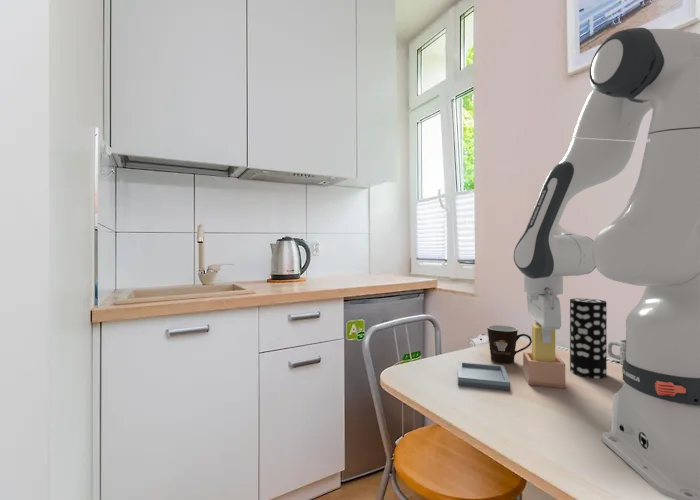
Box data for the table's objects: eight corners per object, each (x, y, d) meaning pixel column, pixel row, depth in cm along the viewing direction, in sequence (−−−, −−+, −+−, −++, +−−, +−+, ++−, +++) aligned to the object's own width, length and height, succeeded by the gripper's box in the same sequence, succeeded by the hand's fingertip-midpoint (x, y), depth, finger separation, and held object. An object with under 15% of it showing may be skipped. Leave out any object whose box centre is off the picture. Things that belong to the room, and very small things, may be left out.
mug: (652, 366, 102) (652, 343, 102) (643, 370, 99) (643, 346, 99) (612, 357, 111) (612, 336, 111) (602, 361, 107) (602, 339, 107)
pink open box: (565, 388, 86) (565, 364, 86) (528, 384, 88) (528, 360, 88) (556, 377, 93) (556, 354, 93) (523, 373, 96) (523, 351, 96)
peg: (555, 380, 88) (555, 328, 88) (535, 378, 89) (535, 327, 89) (551, 374, 92) (550, 325, 92) (532, 372, 94) (531, 324, 94)
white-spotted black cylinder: (594, 368, 100) (594, 298, 100) (613, 379, 92) (613, 303, 92) (564, 367, 101) (564, 298, 101) (580, 378, 93) (580, 302, 93)
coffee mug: (481, 359, 108) (481, 327, 108) (496, 354, 114) (496, 323, 114) (518, 370, 99) (518, 334, 99) (533, 363, 104) (533, 330, 104)
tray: (510, 390, 84) (510, 382, 84) (458, 385, 88) (458, 377, 88) (503, 372, 97) (503, 365, 97) (458, 368, 101) (458, 361, 101)
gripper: (568, 290, 80) (569, 351, 80) (547, 283, 99) (547, 331, 99) (537, 290, 82) (538, 349, 82) (523, 282, 101) (523, 330, 101)
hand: (543, 339), depth 91 cm, fingers closed on peg, 4 cm apart
